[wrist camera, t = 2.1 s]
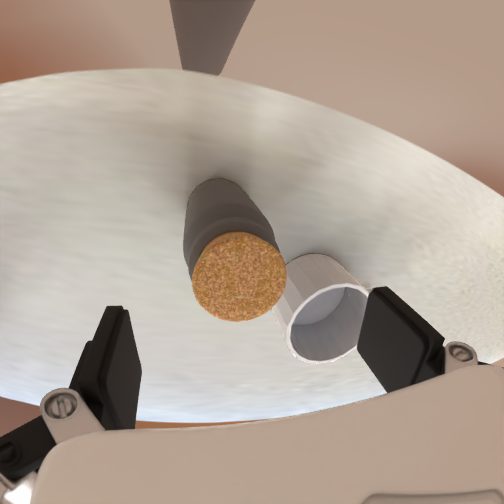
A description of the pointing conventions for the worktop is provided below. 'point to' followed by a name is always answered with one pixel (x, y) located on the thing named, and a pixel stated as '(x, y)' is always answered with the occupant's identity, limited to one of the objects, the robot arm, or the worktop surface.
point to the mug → (320, 309)
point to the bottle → (231, 253)
